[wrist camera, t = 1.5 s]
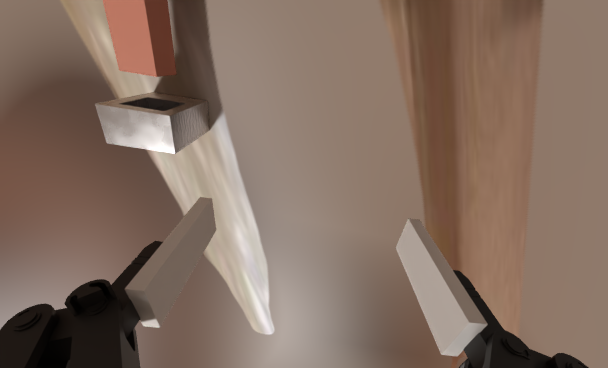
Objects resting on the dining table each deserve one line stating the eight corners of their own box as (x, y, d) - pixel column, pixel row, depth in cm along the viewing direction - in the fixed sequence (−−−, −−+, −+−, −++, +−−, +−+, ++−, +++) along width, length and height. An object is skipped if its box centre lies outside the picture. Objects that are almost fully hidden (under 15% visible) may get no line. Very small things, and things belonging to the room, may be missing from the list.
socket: (153, 92, 32) (94, 103, 24) (207, 101, 33) (169, 116, 24) (158, 122, 35) (107, 143, 26) (209, 130, 35) (175, 153, 26)
